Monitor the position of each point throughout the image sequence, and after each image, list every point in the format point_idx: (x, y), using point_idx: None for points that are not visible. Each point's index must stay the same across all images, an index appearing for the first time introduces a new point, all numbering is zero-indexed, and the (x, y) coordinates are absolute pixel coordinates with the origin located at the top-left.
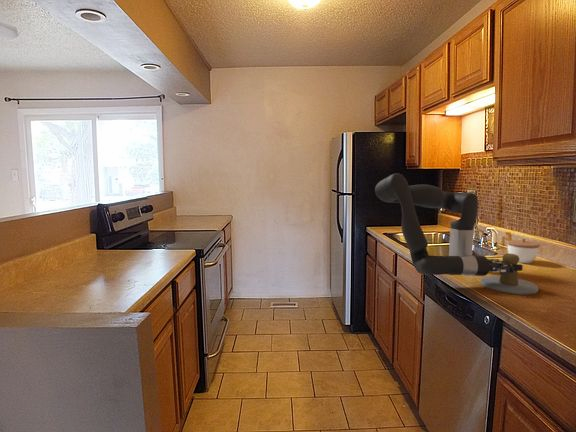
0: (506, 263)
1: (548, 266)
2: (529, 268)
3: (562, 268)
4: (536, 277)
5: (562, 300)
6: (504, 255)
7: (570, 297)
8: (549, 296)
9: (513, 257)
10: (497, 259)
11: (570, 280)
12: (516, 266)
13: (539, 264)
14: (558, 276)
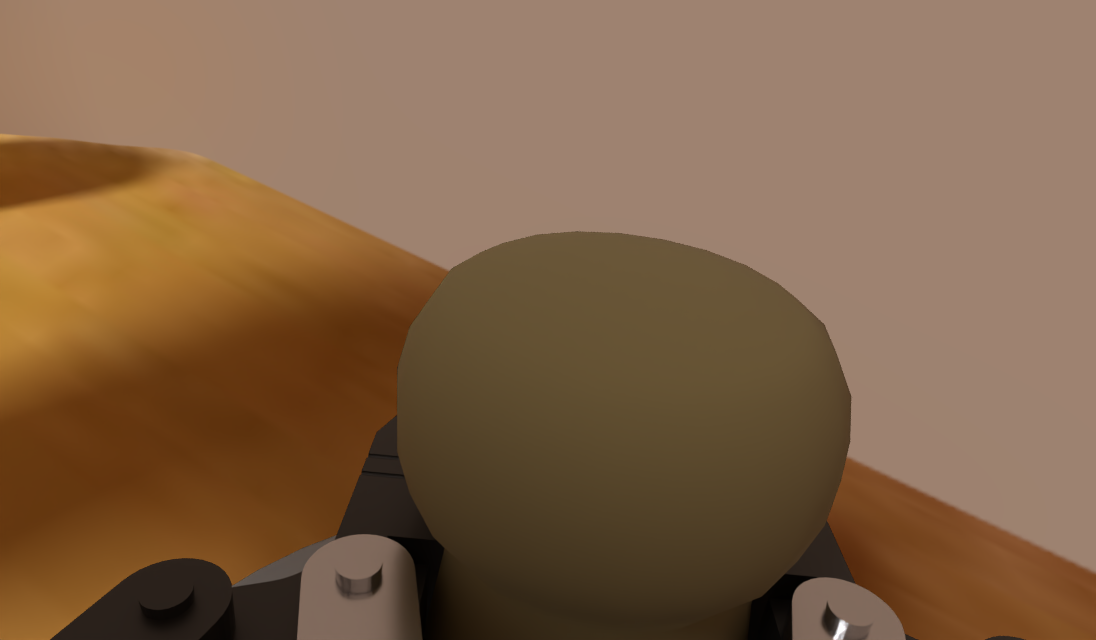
0: (678, 634)
1: (87, 182)
2: (28, 256)
3: (173, 170)
4: (270, 350)
5: (1033, 589)
6: (618, 426)
7: (877, 475)
8: (930, 620)
9: (839, 368)
10: (189, 602)
11: (416, 258)
12: (834, 547)
13: (10, 183)
14: (310, 253)
